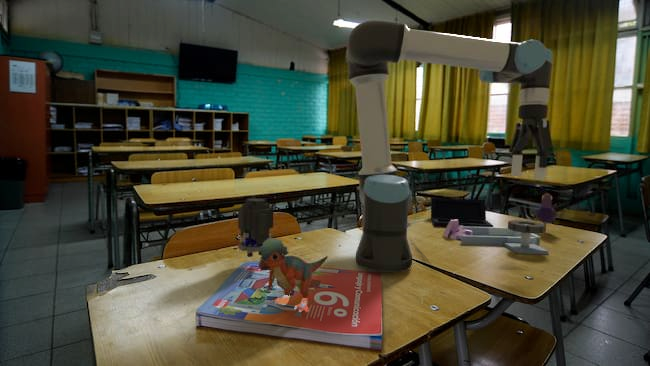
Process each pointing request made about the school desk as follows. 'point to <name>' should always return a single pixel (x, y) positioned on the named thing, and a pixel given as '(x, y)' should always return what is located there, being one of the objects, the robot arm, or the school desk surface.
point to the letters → (456, 230)
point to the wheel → (526, 226)
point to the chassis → (505, 239)
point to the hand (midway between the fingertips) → (527, 177)
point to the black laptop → (459, 212)
